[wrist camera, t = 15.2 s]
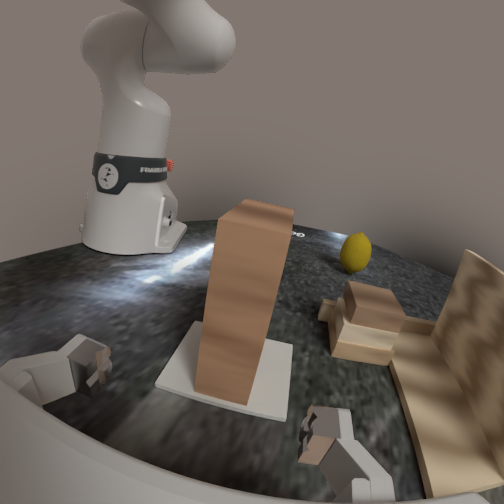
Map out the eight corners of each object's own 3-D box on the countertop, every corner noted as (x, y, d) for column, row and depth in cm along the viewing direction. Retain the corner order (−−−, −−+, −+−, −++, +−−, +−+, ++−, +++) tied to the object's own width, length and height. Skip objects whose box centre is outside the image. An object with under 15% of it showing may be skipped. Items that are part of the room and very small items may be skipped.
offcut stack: (327, 323, 35) (342, 278, 34) (375, 333, 35) (392, 290, 33) (331, 357, 29) (350, 306, 27) (387, 367, 28) (410, 319, 26)
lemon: (357, 282, 50) (371, 238, 48) (330, 271, 53) (342, 228, 51) (367, 276, 54) (380, 236, 52) (342, 265, 57) (353, 226, 55)
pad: (194, 323, 30) (195, 320, 30) (291, 347, 29) (292, 344, 29) (154, 386, 21) (154, 382, 20) (284, 421, 20) (286, 418, 20)
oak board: (222, 331, 29) (246, 198, 25) (262, 341, 29) (294, 209, 25) (194, 391, 21) (218, 218, 16) (246, 405, 20) (291, 235, 16)
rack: (317, 315, 37) (347, 213, 33) (431, 337, 35) (467, 248, 31) (323, 505, 13) (444, 337, 9) (506, 484, 11) (604, 356, 7)
